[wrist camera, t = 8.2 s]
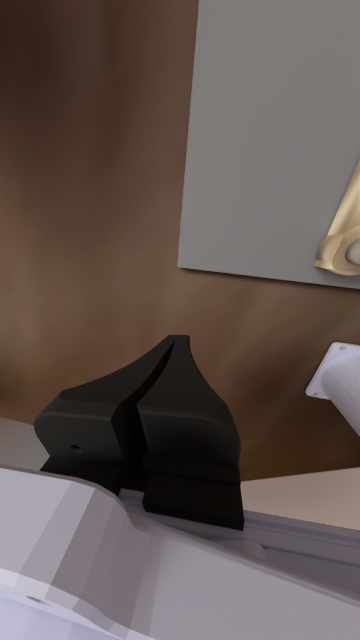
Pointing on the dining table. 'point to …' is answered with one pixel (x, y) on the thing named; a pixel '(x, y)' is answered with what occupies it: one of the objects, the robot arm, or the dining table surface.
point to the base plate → (270, 136)
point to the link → (343, 234)
